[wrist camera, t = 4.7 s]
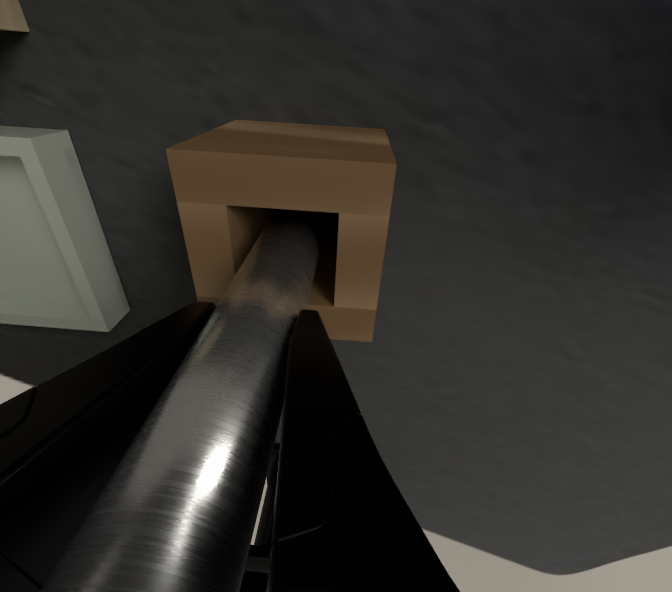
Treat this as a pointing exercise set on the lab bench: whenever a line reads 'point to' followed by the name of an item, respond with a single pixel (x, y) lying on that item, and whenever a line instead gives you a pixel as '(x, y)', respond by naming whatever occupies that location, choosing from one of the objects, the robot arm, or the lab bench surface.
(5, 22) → the maple block
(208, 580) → the rod
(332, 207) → the bored oak block
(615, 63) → the lab bench surface
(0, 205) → the tray
